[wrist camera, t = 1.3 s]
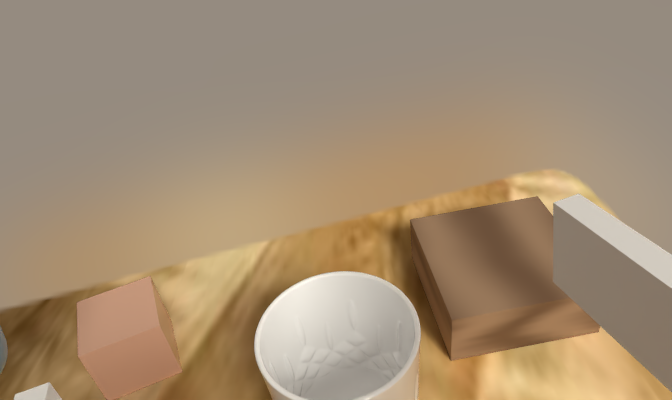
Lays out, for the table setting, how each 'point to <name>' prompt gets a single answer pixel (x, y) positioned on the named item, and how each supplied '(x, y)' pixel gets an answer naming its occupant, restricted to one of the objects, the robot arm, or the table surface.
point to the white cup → (340, 340)
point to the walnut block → (494, 278)
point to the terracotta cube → (126, 339)
